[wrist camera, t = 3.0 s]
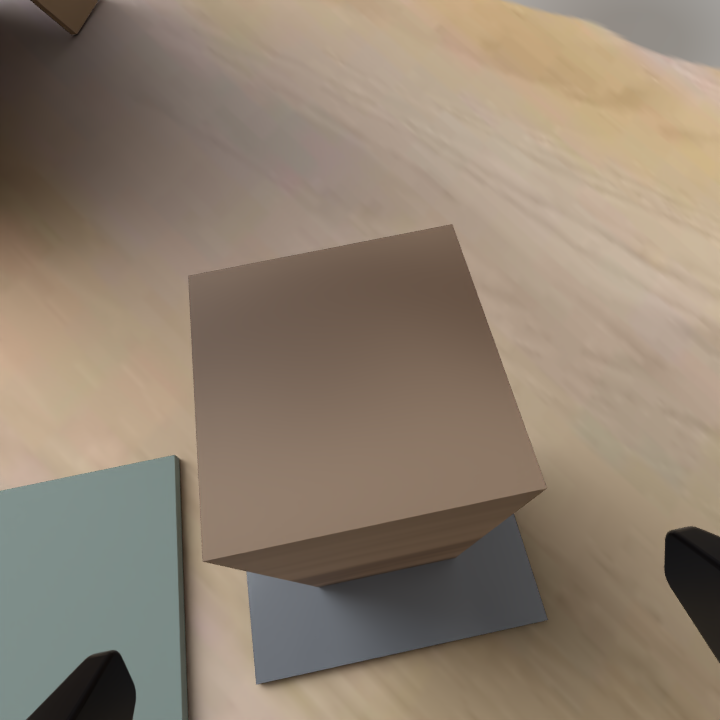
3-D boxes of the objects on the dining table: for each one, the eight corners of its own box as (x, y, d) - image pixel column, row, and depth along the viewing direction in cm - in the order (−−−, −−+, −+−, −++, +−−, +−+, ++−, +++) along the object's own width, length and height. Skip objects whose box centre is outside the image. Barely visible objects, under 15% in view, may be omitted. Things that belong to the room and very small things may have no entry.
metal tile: (545, 619, 17) (547, 619, 17) (258, 682, 17) (256, 684, 17) (463, 363, 22) (464, 360, 21) (234, 410, 21) (232, 407, 21)
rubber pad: (189, 757, 16) (183, 761, 16) (-124, 827, 16) (-140, 834, 15) (179, 458, 21) (174, 455, 20) (-67, 508, 20) (-77, 506, 20)
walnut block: (455, 557, 18) (547, 487, 7) (318, 587, 18) (202, 561, 7) (421, 427, 20) (452, 224, 9) (299, 452, 20) (188, 275, 9)
